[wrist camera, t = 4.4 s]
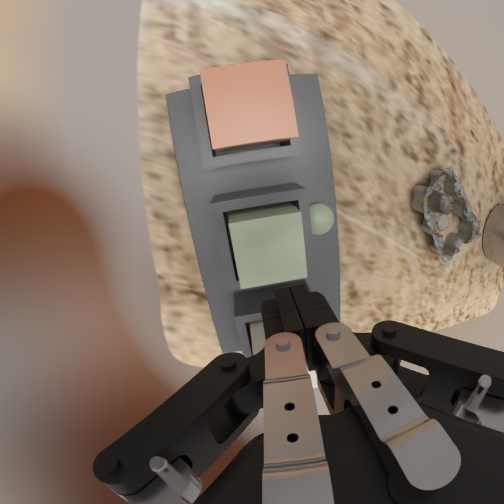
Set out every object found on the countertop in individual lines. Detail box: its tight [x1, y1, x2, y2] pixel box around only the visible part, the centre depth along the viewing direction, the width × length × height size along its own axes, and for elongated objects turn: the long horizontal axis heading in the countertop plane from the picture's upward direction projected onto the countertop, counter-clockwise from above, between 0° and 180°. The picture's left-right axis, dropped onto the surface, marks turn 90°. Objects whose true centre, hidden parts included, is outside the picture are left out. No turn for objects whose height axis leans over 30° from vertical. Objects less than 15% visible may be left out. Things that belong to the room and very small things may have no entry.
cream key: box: [250, 320, 318, 388], centre depth 24 cm, size 5×5×6 cm
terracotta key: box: [200, 59, 299, 151], centre depth 17 cm, size 5×5×6 cm
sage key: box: [228, 201, 307, 289], centre depth 22 cm, size 5×5×6 cm
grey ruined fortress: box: [410, 166, 481, 263], centre depth 26 cm, size 11×8×4 cm
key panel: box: [166, 64, 340, 358], centre depth 24 cm, size 14×28×6 cm, turn 9°
